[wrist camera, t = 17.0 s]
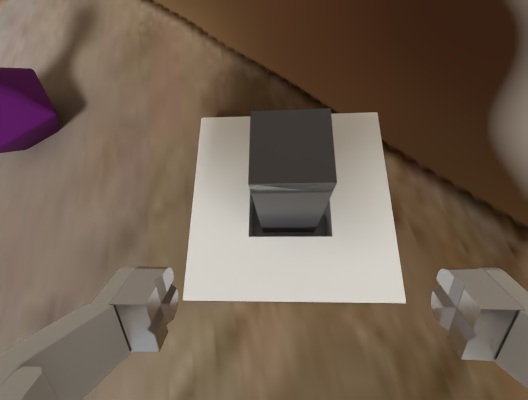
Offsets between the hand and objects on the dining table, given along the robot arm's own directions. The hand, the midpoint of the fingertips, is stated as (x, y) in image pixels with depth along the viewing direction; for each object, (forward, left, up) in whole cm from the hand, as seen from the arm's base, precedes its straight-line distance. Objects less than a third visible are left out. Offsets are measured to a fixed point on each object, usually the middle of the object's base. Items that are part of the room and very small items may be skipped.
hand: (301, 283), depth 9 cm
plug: (0, +7, -15) cm, 17 cm away
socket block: (0, +7, -16) cm, 17 cm away
